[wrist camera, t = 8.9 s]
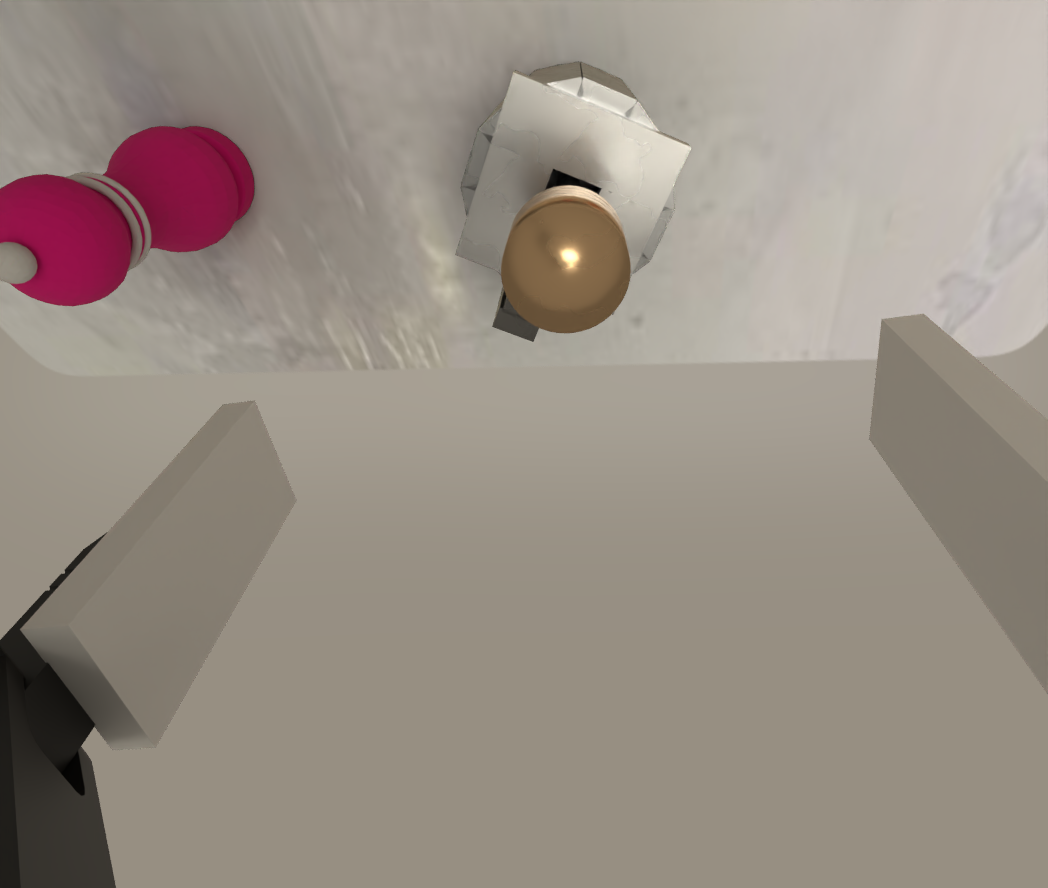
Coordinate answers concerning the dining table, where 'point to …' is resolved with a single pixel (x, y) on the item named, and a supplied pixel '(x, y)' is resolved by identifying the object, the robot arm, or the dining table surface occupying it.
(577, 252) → the plunger
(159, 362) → the dining table surface
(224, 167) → the pepper mill
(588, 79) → the faceted grey canister
